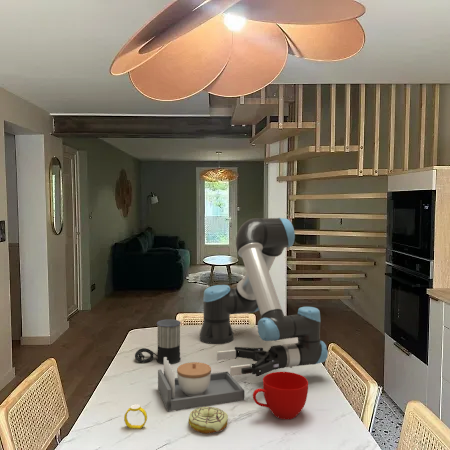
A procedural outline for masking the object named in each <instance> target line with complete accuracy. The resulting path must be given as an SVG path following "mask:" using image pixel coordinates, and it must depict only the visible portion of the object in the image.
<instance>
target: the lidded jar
mask: <svg viewBox="0 0 450 450" xmlns="http://www.w3.org/2000/svg"><path fill="white" fill-rule="evenodd" d="M176 373H177V377H176V378H178V383H179V386H180V388H181V390H182V391H183V392H184V393H185V394H186V395H187V396H200V395H202V394H203V393H204V391H206V389H207V388H208V386H209V384H210V379H211V374H212V367H211V366H210V365H209V364H207V363H204V362H200V361H199V362H197V361H196V362H186V363H183V364H181V365H179V366H178V367H177V369H176Z"/></svg>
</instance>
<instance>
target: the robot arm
mask: <svg viewBox="0 0 450 450" xmlns="http://www.w3.org/2000/svg"><path fill="white" fill-rule="evenodd" d="M235 237H236V238H235V246H236V253H237V254H238V257H240V258H241V259H242V261H243V264H244V268H245V270H246V272H245V274H244V277H243V279H241V280H239V281H238V283H237V284H236V286H235V287H230V285H227V284H217V285H215V284H214V285H212V286H209V287H207V288H205V290H204V291H203V299H202V300H203V321H202V322H203V323H202V324H201V325H202V326H201V329H200V331H199V340H200V341H201V342H202V343H205V344H211V345H220V344H221V345H222V344H227V343H230V342H233V341H234V331H233V328H232V324H231V322H230V320H231V319H230V317H231V315H236V314H250V313H252V314H253V313H256V312H258V311H259V314H260V317H261V318H260V319H259V320H258V322H257V333H258V337H259V339H261V340H262V341H263V342H264V341H265V342H274V341H275V342H276V341H280V340H287V339H295V338H297V342H296V343H294V342H293V343H292V342H291V343H283V344H277V345H271V346H270V348H269V349H268V350H264V348H263V347H245V346H235V347H234V349H229V350H222V351H219V350H218V351H216V360H217V361H223V360H233V359H235V360H236V359H237V358H241V359H248V360H252V361H254V362H255V363H251V364H250V363H249V364H240V365H239V364H238V365H233V366H232V365H231V366H229V367H230V369H229V370H230V372H229V374H230V375H231V376H232V377H236V376H242V375H249V374H252V375H255V376H256V377H260V376H263V375H265V374H268V373H269V372H270V373H271V372H272V371H276V370H279V369H284V368H290V369H292V368H293V367H300V366H301V367H302V366H308V365H309V366H310V365H312V366H313V365H319V364H321V363H324V362H326V361H327V359H328V356H329V355H328V354H329V352H328V348H327V345H326V343H325V342H324V341H323V340H321V335H320V334H321V312H320V309H319V308H317V307H314V306H302V307H299V308H298V310H297V314H292V315H290V314H289V315H285V314H284V312H283V309H282V306H281V303H280V300H279V297H278V295H277V292H276V289H275V286H274V283H273V281H272V277H271V275H270V270H271V267H272V265H273V264H274V261H275V260H276V257H277V258H278V257H279V256H281V255H282V253H283V251H284V250H285V248H287V249H288V248H291V247H292V246H293V245H294V243H295V241H296V240H295V239H296V234H295V228H294V225H293V223H292V222H291V220H289V219H288V218H285V217H284V218H282V217H273V218H272V217H270V218H269V217H268V218H267V217H266V218H265V217H264V218H258V217H257V218H256V217H255V218H250V219H248V220H246V221H245V222H243V223H242V225H241V226H240V227H239V229H238V231H237V234H236V236H235Z"/></svg>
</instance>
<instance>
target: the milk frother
mask: <svg viewBox="0 0 450 450" xmlns="http://www.w3.org/2000/svg"><path fill="white" fill-rule="evenodd" d="M181 324H182V322H181V321H180V320H177V319H170V318H169V319H162V320H158V321H157V322H156V325H157V354H156V353H155V352H154V351H152V350H151V349H149V348H145V347H144V348H139V349H138V350H137V351H136V352H135V353H134V358H135V360H136V361H137V362H140V363H148V362H151V361H152V360H153V359H154V356H156V362H158V363H159V364H162V365H164V357H167V360H168V361H169V364H171V365H174V364H177V363H179V362H180V361H181V359H182V357H181V349H180V348H181ZM143 353H147V354H149V357H148V358H145V355H144V354H143Z"/></svg>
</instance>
